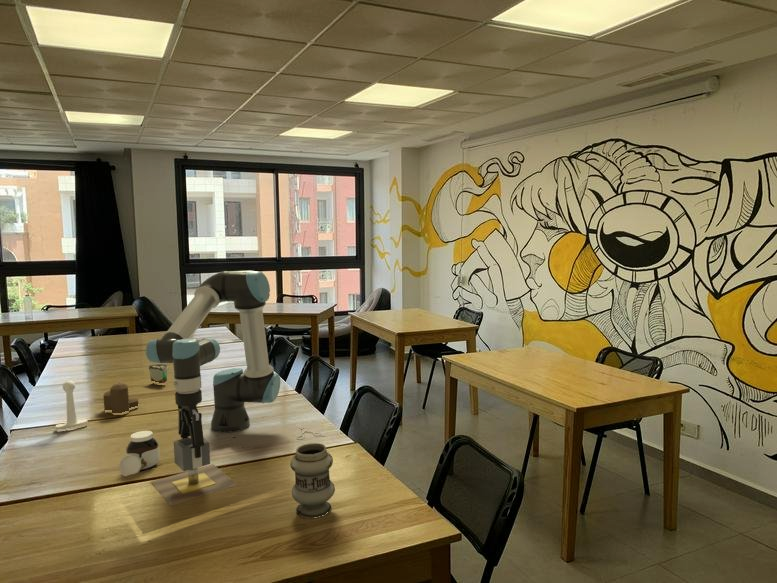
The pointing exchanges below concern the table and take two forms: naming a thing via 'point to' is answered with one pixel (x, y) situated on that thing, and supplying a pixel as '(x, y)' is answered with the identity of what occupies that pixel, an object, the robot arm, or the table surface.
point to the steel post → (193, 476)
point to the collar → (189, 453)
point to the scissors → (307, 431)
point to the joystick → (70, 408)
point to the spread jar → (140, 454)
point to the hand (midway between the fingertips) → (192, 462)
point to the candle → (118, 399)
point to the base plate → (180, 491)
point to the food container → (158, 372)
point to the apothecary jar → (312, 480)
